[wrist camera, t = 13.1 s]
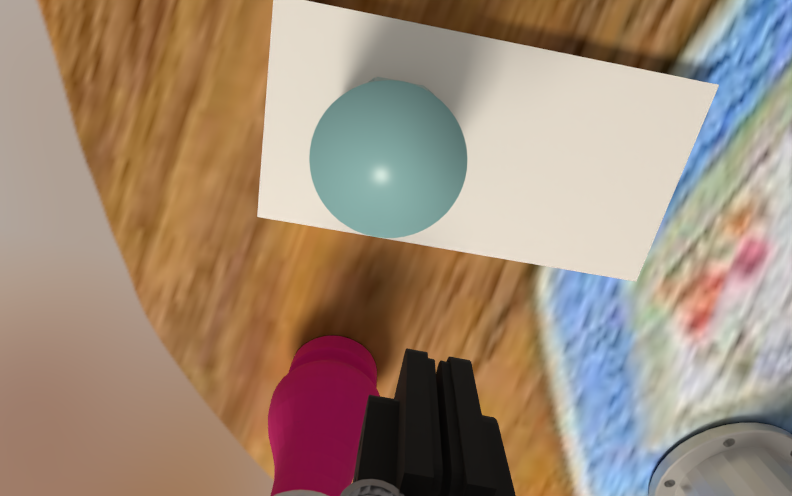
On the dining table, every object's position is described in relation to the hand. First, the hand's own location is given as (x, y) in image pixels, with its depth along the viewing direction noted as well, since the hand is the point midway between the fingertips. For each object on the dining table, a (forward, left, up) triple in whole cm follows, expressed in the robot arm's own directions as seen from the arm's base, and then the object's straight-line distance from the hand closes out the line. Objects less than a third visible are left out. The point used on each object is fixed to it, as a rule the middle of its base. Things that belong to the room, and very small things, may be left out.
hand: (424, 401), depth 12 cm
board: (-3, -4, -19) cm, 19 cm away
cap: (+2, -4, -16) cm, 16 cm away
